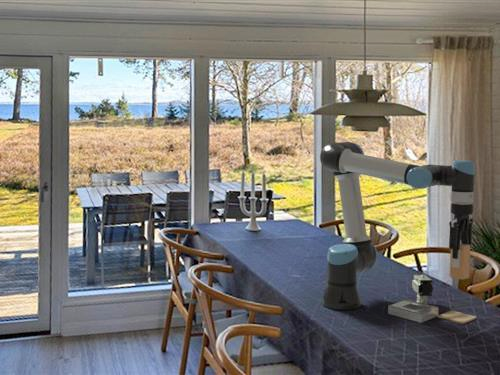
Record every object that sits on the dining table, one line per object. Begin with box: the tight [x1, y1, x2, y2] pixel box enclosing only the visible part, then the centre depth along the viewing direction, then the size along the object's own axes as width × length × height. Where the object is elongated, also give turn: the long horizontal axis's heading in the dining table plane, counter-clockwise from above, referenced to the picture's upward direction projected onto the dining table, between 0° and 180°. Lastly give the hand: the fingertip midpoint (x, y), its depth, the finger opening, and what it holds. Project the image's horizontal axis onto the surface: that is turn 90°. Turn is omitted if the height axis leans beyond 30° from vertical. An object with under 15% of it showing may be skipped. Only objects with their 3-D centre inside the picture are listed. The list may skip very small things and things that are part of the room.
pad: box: [437, 310, 478, 325], centre depth 213 cm, size 10×10×1 cm
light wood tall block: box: [449, 243, 471, 281], centre depth 211 cm, size 5×5×12 cm
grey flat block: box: [387, 298, 440, 324], centre depth 217 cm, size 14×12×3 cm
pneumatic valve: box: [411, 274, 434, 304], centre depth 229 cm, size 6×12×12 cm, turn 2°
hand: (459, 265), depth 211 cm, fingers closed on light wood tall block, 5 cm apart
